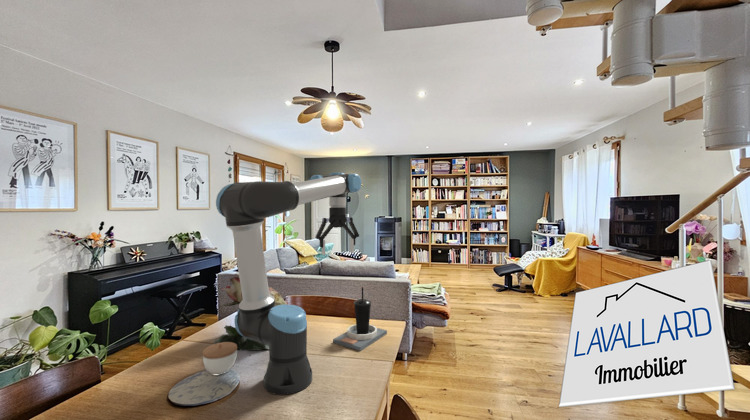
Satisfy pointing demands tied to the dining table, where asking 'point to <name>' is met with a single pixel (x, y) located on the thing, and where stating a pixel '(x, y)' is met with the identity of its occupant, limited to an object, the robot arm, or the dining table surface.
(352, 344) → the ring board
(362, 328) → the drinking cup
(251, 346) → the rose bouquet
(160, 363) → the dining table surface
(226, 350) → the lidded jar
